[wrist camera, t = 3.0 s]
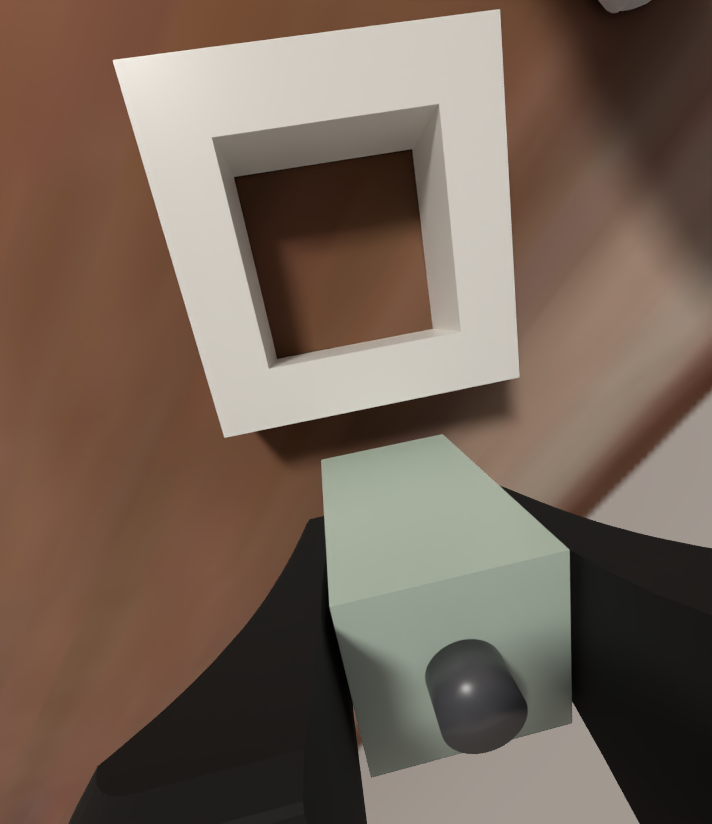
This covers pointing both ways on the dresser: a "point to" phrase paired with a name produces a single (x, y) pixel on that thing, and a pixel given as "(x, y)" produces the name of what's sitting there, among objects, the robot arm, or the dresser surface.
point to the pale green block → (443, 605)
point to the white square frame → (320, 143)
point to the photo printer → (621, 4)
